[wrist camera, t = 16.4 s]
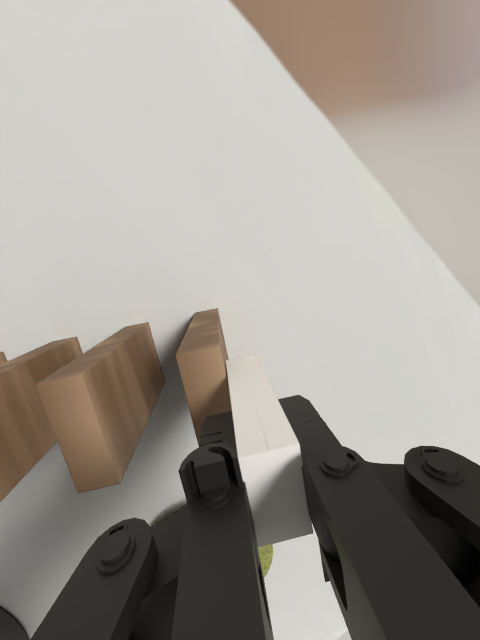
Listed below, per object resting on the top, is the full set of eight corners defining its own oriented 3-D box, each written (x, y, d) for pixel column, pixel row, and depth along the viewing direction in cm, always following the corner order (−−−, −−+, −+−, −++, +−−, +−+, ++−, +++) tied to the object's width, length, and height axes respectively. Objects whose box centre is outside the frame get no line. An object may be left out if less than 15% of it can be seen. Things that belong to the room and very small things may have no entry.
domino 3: (217, 308, 20) (219, 345, 10) (230, 368, 21) (242, 454, 11) (195, 312, 20) (175, 355, 10) (209, 373, 21) (203, 464, 11)
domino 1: (76, 336, 19) (-65, 405, 10) (97, 397, 20) (-11, 514, 11) (52, 341, 19) (-115, 415, 10) (74, 402, 20) (-55, 524, 11)
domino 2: (148, 322, 20) (82, 374, 10) (164, 382, 21) (119, 483, 11) (125, 326, 20) (35, 384, 10) (142, 387, 21) (78, 493, 11)
